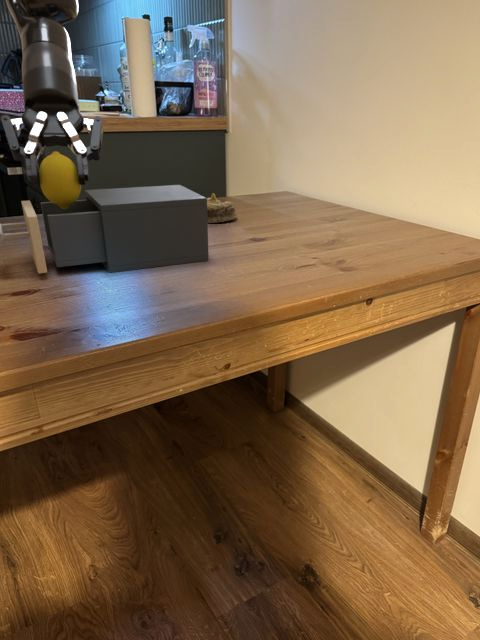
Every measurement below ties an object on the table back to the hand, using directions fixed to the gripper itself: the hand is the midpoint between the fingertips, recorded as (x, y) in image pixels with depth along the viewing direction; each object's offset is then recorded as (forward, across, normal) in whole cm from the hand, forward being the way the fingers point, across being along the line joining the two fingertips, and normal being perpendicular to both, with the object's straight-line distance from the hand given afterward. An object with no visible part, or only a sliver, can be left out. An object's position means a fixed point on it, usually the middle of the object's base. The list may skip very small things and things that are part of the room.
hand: (59, 181), depth 70 cm
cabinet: (+6, +12, +12) cm, 18 cm away
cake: (-11, +28, +29) cm, 41 cm away
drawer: (+7, 0, +9) cm, 12 cm away
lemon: (+2, 0, +4) cm, 5 cm away
